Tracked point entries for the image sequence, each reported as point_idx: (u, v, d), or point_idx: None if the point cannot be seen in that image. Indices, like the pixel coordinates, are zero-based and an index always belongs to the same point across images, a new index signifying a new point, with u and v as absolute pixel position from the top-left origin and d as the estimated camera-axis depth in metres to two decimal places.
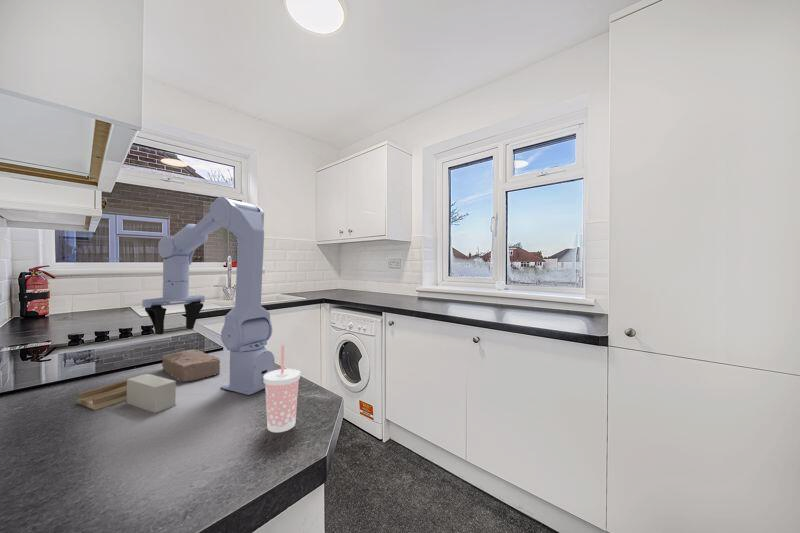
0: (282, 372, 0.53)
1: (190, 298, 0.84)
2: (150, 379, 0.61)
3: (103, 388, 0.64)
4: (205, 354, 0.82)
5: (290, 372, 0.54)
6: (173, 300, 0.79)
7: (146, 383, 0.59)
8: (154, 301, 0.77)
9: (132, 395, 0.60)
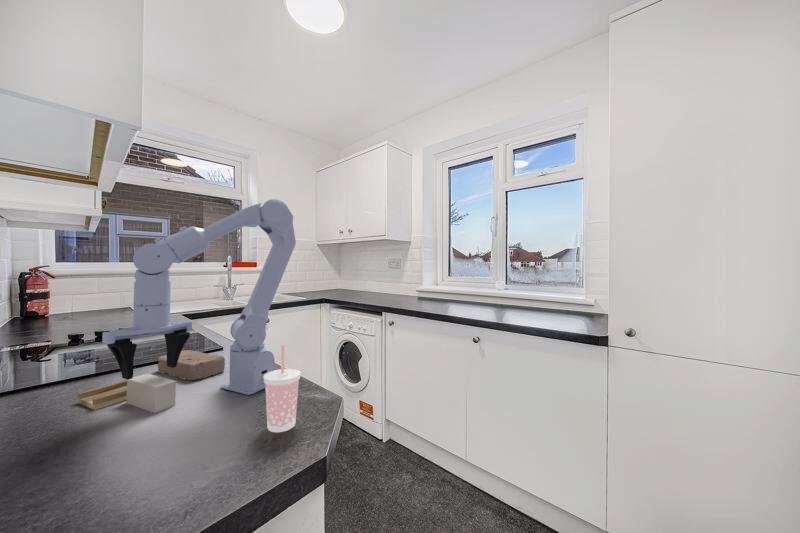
0: (282, 372, 0.53)
1: (172, 327, 0.62)
2: (150, 379, 0.61)
3: (103, 388, 0.64)
4: (204, 353, 0.83)
5: (290, 372, 0.54)
6: (147, 331, 0.58)
7: (146, 383, 0.59)
8: (119, 334, 0.55)
9: (132, 395, 0.60)
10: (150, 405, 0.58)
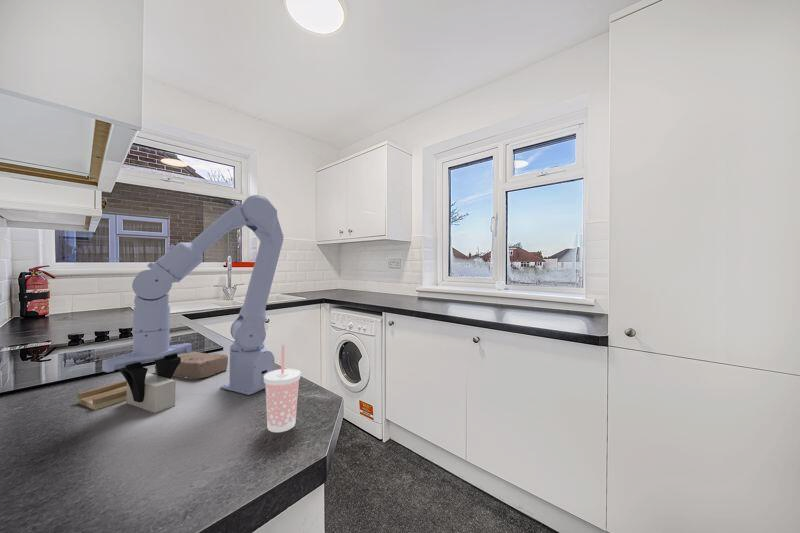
0: (282, 372, 0.53)
1: (171, 351, 0.62)
2: (149, 378, 0.61)
3: (103, 388, 0.64)
4: (203, 353, 0.83)
5: (290, 372, 0.54)
6: (147, 357, 0.58)
7: (146, 382, 0.59)
8: (119, 362, 0.55)
9: None
10: (150, 404, 0.58)
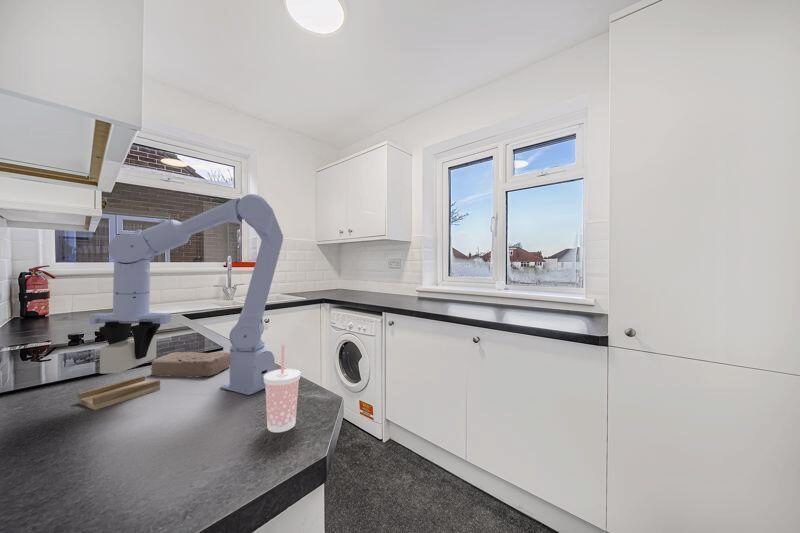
0: (282, 372, 0.53)
1: (134, 317, 0.61)
2: None
3: (103, 388, 0.64)
4: (201, 353, 0.84)
5: (290, 372, 0.54)
6: (110, 318, 0.61)
7: (120, 342, 0.62)
8: (97, 317, 0.62)
9: None
10: None
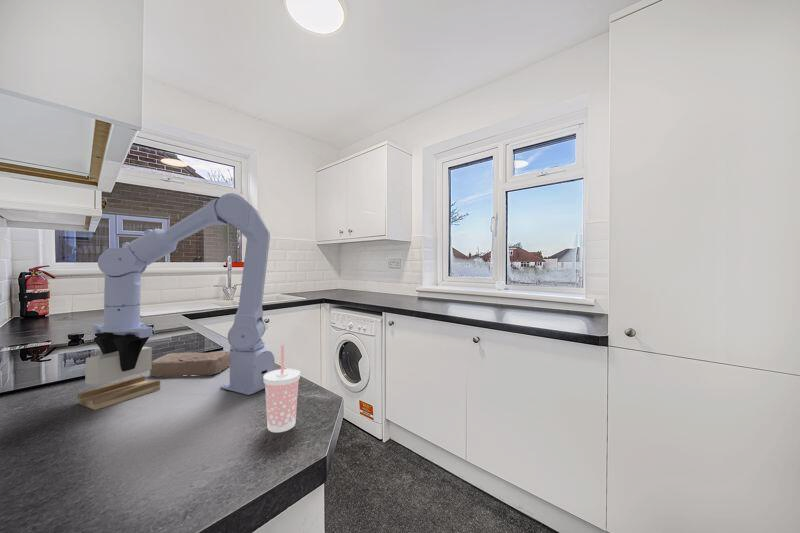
0: (282, 372, 0.53)
1: (117, 330, 0.62)
2: None
3: (103, 388, 0.64)
4: (200, 353, 0.84)
5: (290, 372, 0.54)
6: (101, 329, 0.63)
7: (111, 353, 0.64)
8: (96, 327, 0.65)
9: None
10: None
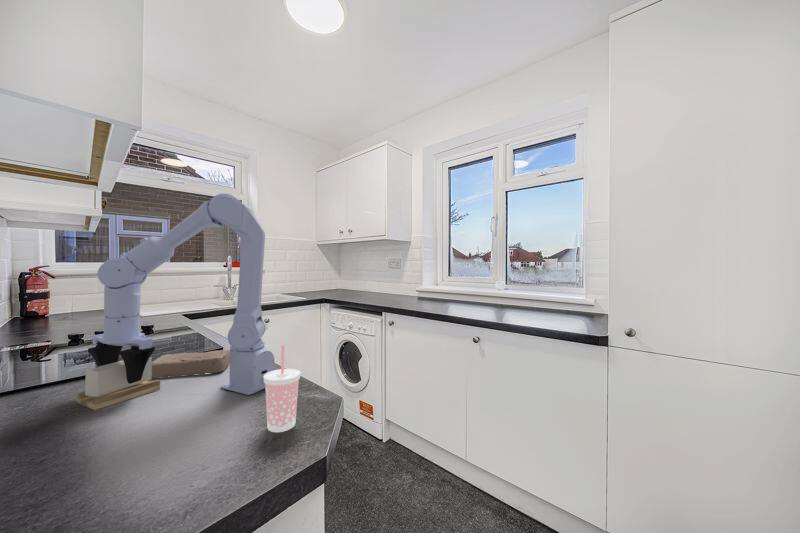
0: (282, 372, 0.53)
1: (117, 341, 0.62)
2: None
3: None
4: None
5: (290, 372, 0.54)
6: (101, 341, 0.63)
7: (111, 364, 0.64)
8: (96, 338, 0.65)
9: None
10: None
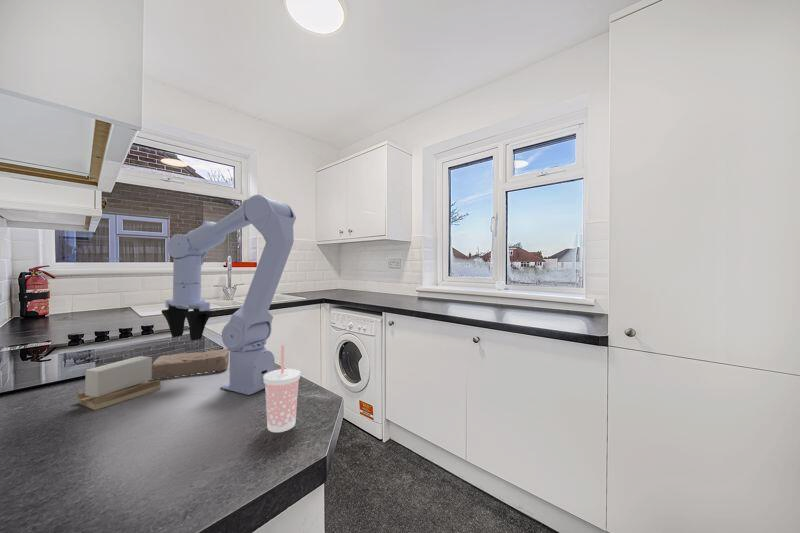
0: (282, 372, 0.53)
1: (182, 304, 0.72)
2: (126, 362, 0.65)
3: None
4: (195, 353, 0.84)
5: (290, 372, 0.54)
6: (171, 303, 0.74)
7: (111, 364, 0.64)
8: (168, 302, 0.77)
9: None
10: None
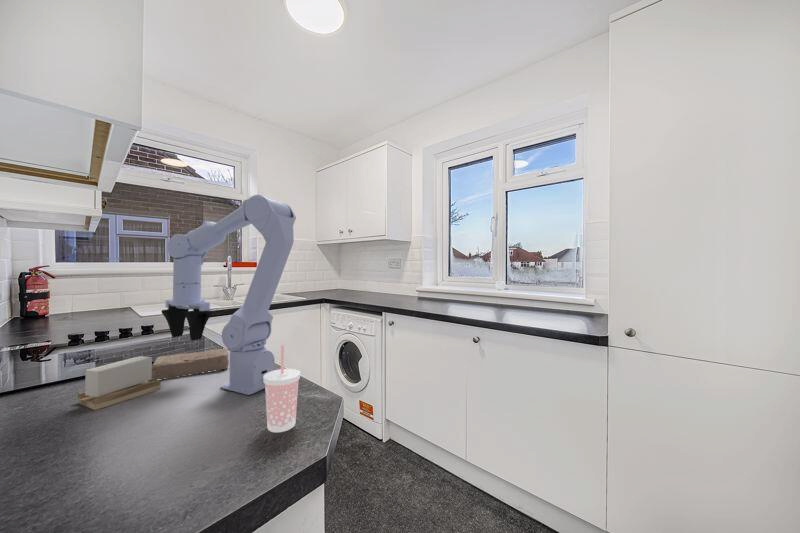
0: (282, 372, 0.53)
1: (182, 304, 0.72)
2: (126, 362, 0.65)
3: None
4: (193, 353, 0.84)
5: (290, 372, 0.54)
6: (171, 303, 0.74)
7: (111, 364, 0.64)
8: (168, 302, 0.77)
9: None
10: None
